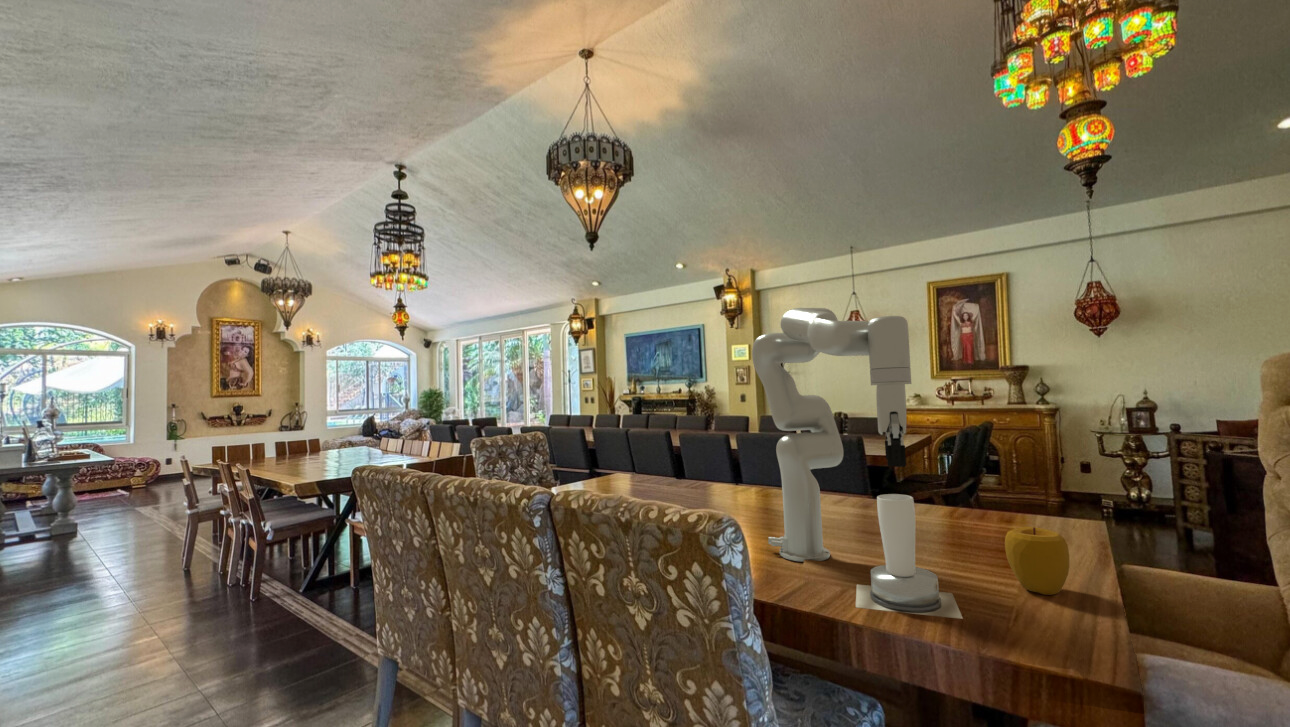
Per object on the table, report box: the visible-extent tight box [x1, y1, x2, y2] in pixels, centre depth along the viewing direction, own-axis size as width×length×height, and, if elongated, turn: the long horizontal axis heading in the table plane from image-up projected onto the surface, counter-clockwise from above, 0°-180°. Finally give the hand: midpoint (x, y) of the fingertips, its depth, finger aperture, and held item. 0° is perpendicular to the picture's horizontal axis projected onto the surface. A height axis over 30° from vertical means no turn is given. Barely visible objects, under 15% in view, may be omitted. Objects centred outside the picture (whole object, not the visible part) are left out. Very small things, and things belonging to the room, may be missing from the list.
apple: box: [1004, 526, 1070, 596], centre depth 111 cm, size 11×11×13 cm
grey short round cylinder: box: [870, 564, 941, 614], centre depth 106 cm, size 13×13×5 cm
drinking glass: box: [876, 493, 917, 577], centre depth 107 cm, size 7×7×15 cm
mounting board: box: [855, 583, 964, 620], centre depth 106 cm, size 18×13×1 cm
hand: (895, 462), depth 108 cm, fingers open, 9 cm apart
